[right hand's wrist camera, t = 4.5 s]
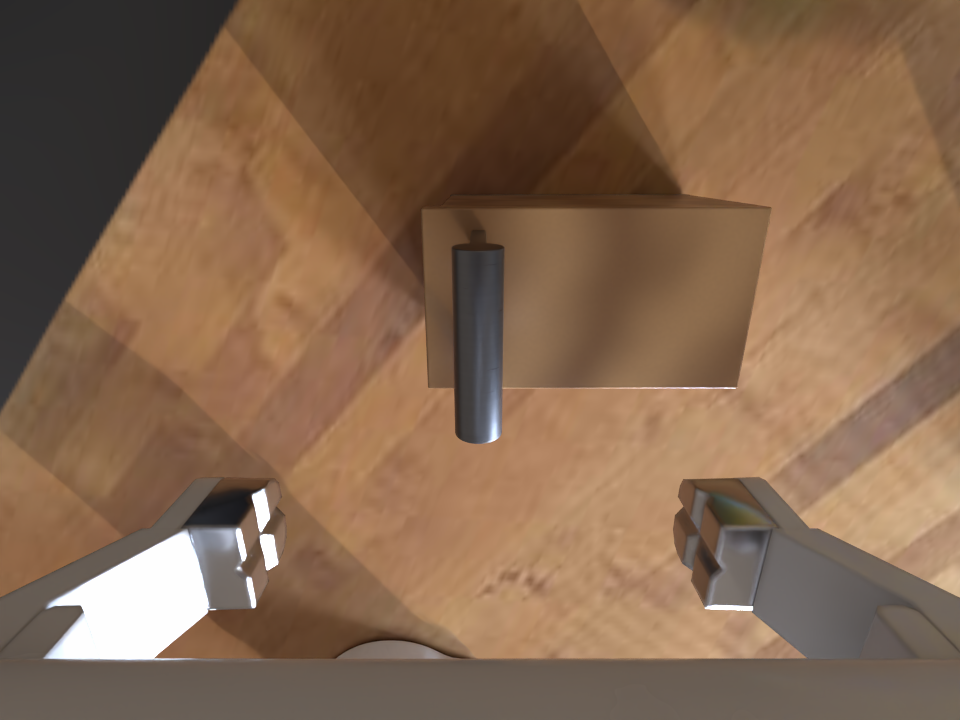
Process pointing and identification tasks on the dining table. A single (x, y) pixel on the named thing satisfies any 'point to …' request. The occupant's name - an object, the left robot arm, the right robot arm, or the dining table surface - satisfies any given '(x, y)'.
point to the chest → (585, 200)
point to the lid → (585, 299)
